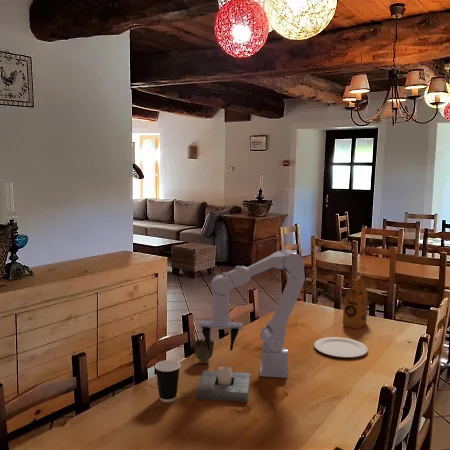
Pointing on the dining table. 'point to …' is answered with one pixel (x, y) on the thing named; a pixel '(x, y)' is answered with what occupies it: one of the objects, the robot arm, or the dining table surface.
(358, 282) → the coffee package
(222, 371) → the white rounded cylinder
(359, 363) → the dining table surface
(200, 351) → the cup
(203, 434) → the dining table surface
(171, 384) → the dixie cup
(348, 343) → the plate
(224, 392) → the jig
